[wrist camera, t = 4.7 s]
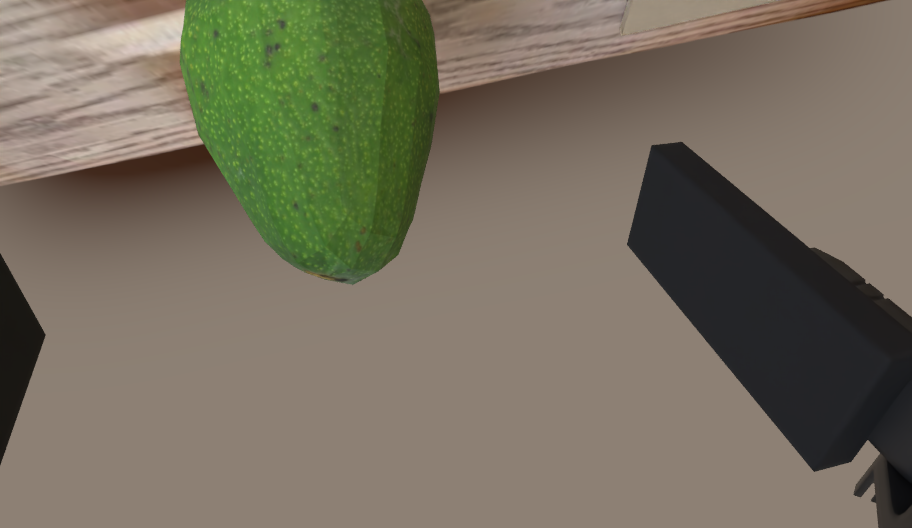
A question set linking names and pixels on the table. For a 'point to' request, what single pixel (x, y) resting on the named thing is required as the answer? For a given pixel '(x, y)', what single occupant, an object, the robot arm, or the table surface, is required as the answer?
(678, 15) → the corner mat
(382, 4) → the avocado
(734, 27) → the table surface
